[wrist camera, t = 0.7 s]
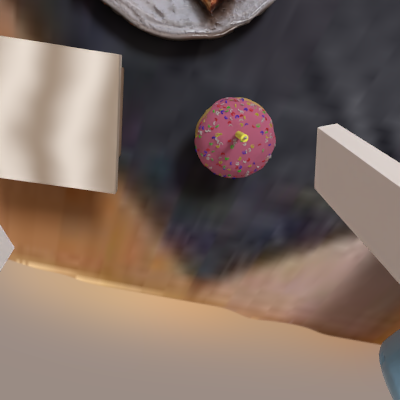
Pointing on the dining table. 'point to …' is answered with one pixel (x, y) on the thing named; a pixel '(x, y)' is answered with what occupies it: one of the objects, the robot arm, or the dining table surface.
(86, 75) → the white box
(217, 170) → the cupcake
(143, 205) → the dining table surface
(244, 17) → the food plate
